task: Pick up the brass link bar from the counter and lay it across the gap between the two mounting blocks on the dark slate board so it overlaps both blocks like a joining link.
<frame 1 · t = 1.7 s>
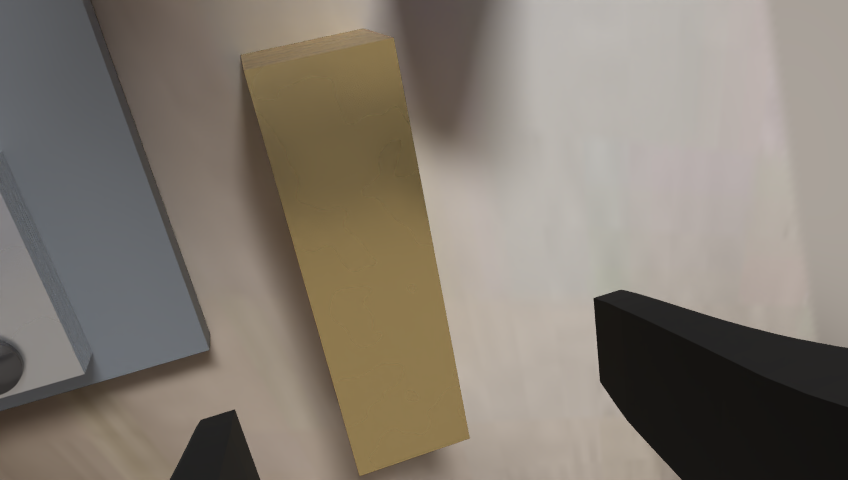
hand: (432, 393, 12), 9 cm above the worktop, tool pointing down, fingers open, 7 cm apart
link bar: (349, 232, 21), on the worktop
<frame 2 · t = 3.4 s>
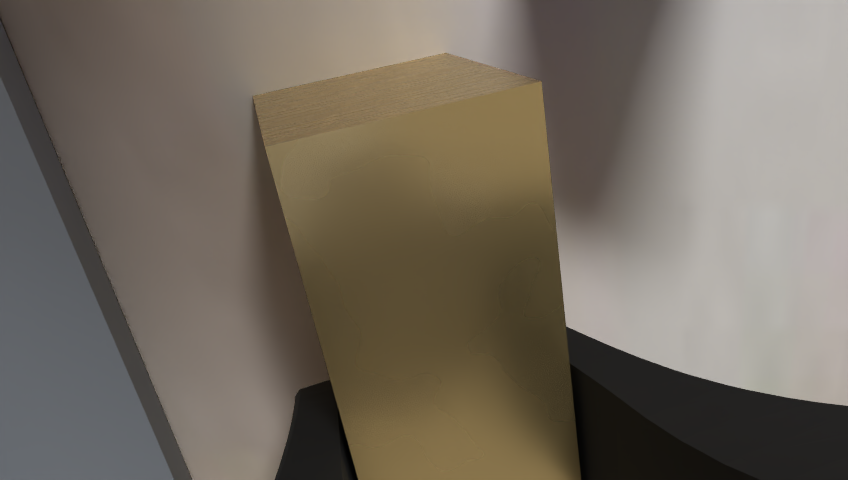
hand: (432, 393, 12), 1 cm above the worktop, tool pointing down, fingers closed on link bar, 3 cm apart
link bar: (412, 356, 14), on the worktop, touching gripper
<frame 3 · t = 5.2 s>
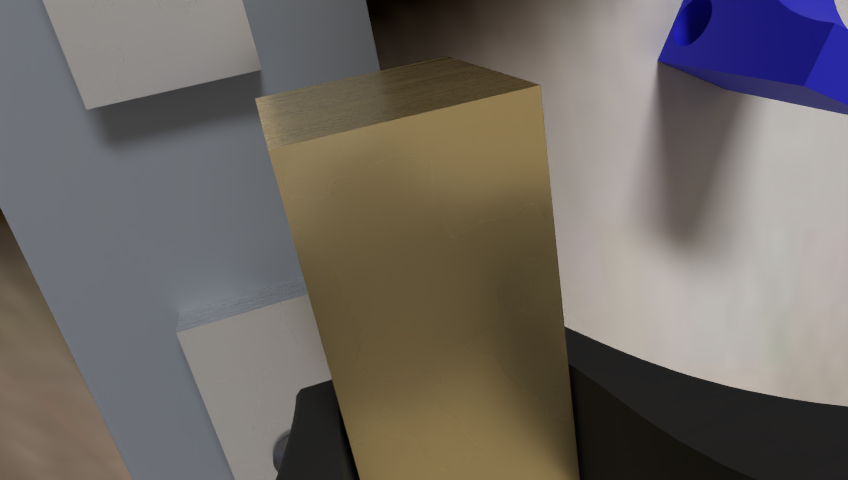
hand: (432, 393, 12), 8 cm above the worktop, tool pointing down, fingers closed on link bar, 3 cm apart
link bar: (413, 356, 14), point 7 cm above the worktop, touching gripper
mounting blocks: (217, 202, 17), on the slate board, point 1 cm above the worktop
slate board: (218, 184, 18), on the worktop
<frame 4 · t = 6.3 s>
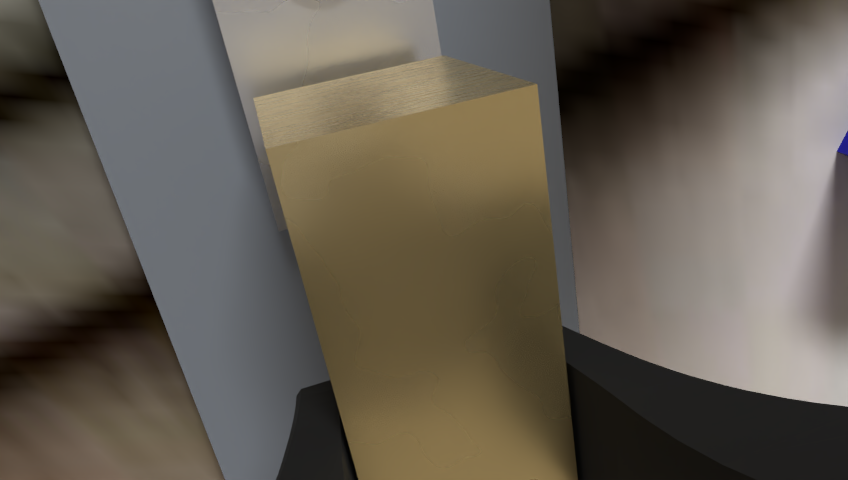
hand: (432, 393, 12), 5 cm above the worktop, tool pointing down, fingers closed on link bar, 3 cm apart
link bar: (411, 355, 14), point 3 cm above the worktop, touching gripper
mounting blocks: (394, 317, 15), on the slate board, point 1 cm above the worktop
slate board: (379, 287, 17), on the worktop
when the fingers open (5 cm above the worktop, at t = 6.9 s): link bar drops 1 cm, resting on mounting blocks.
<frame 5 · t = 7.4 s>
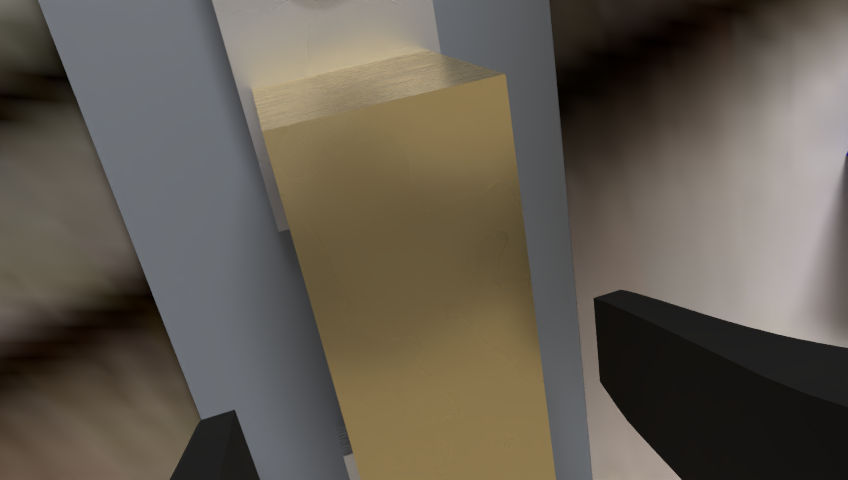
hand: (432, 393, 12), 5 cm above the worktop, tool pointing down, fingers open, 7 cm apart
link bar: (400, 331, 15), point 2 cm above the worktop, touching mounting blocks
mounting blocks: (394, 317, 15), on the slate board, point 1 cm above the worktop
slate board: (378, 288, 17), on the worktop
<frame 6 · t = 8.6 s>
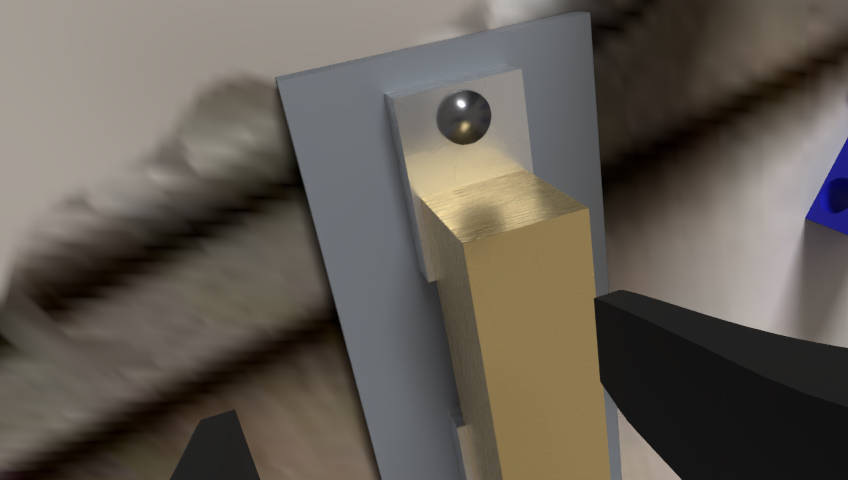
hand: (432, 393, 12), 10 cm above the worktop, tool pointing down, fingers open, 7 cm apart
link bar: (498, 344, 23), point 2 cm above the worktop, touching mounting blocks
mounting blocks: (492, 335, 23), on the slate board, point 1 cm above the worktop
slate board: (476, 313, 25), on the worktop
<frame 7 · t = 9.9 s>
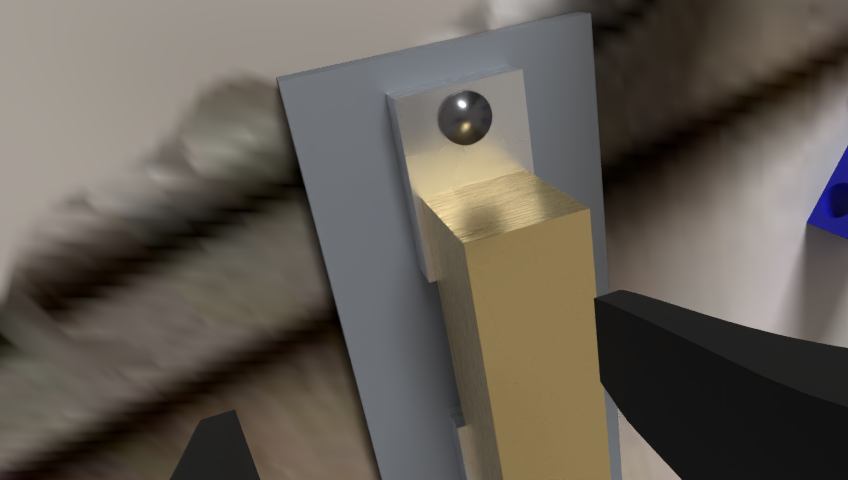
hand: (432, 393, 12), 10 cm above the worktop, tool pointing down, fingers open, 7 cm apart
link bar: (499, 345, 23), point 2 cm above the worktop, touching mounting blocks
mounting blocks: (493, 335, 23), on the slate board, point 1 cm above the worktop
slate board: (476, 314, 25), on the worktop
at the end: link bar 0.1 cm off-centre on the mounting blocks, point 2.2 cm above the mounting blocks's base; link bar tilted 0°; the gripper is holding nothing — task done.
